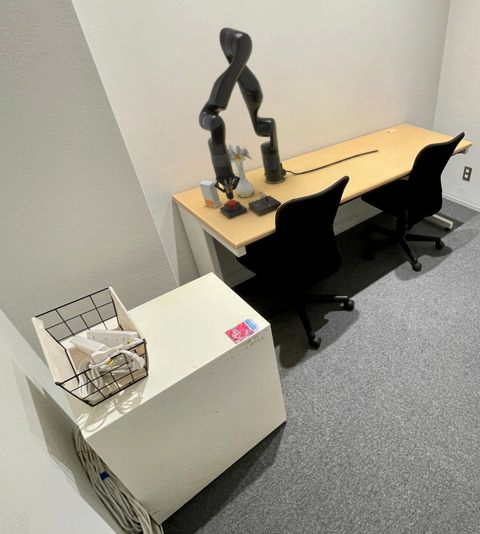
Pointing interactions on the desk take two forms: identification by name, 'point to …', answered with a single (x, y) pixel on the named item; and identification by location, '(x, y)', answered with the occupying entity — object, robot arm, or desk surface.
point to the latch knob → (263, 198)
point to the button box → (233, 210)
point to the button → (231, 203)
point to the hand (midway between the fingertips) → (230, 199)
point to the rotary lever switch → (264, 206)
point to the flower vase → (241, 170)
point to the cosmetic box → (210, 194)
